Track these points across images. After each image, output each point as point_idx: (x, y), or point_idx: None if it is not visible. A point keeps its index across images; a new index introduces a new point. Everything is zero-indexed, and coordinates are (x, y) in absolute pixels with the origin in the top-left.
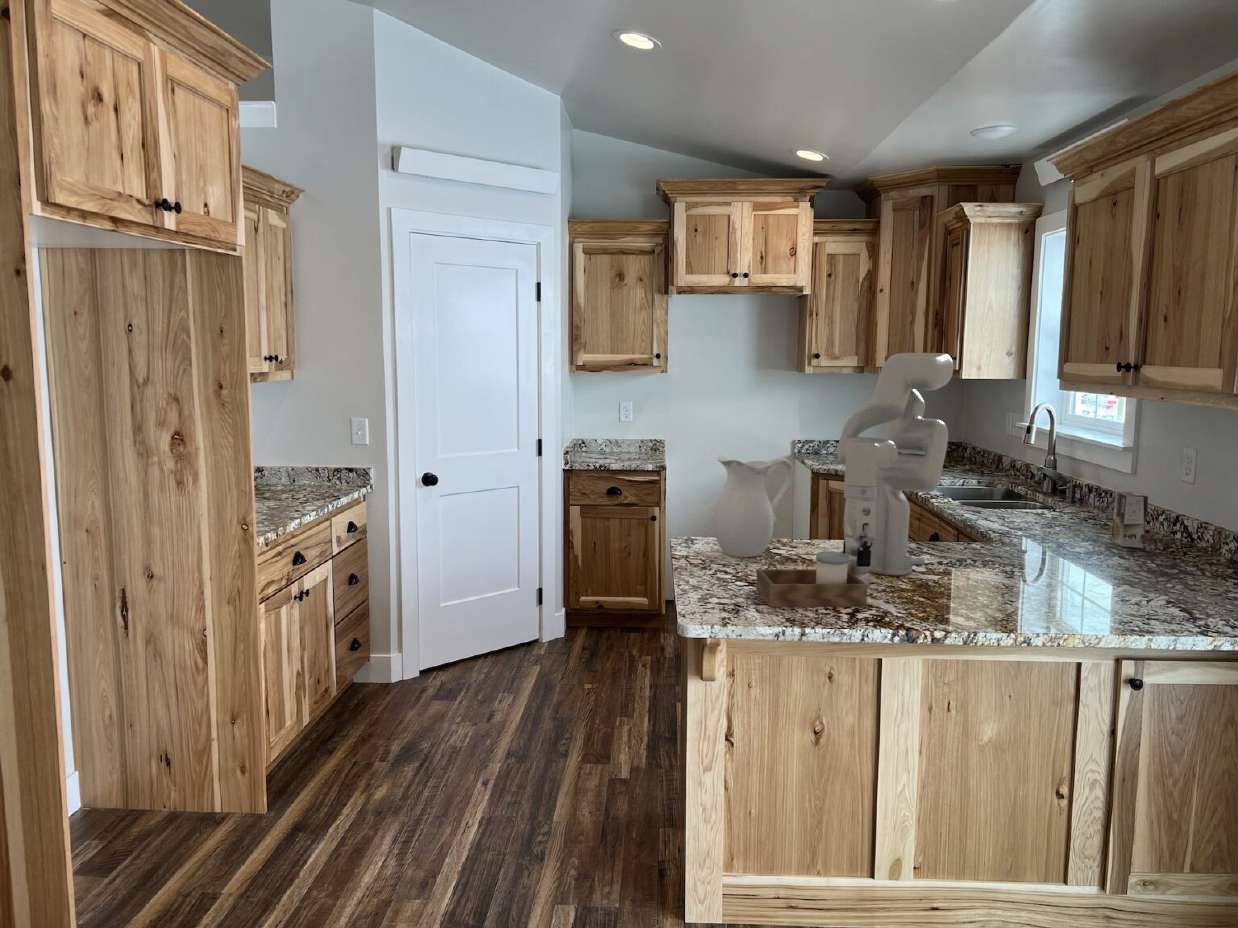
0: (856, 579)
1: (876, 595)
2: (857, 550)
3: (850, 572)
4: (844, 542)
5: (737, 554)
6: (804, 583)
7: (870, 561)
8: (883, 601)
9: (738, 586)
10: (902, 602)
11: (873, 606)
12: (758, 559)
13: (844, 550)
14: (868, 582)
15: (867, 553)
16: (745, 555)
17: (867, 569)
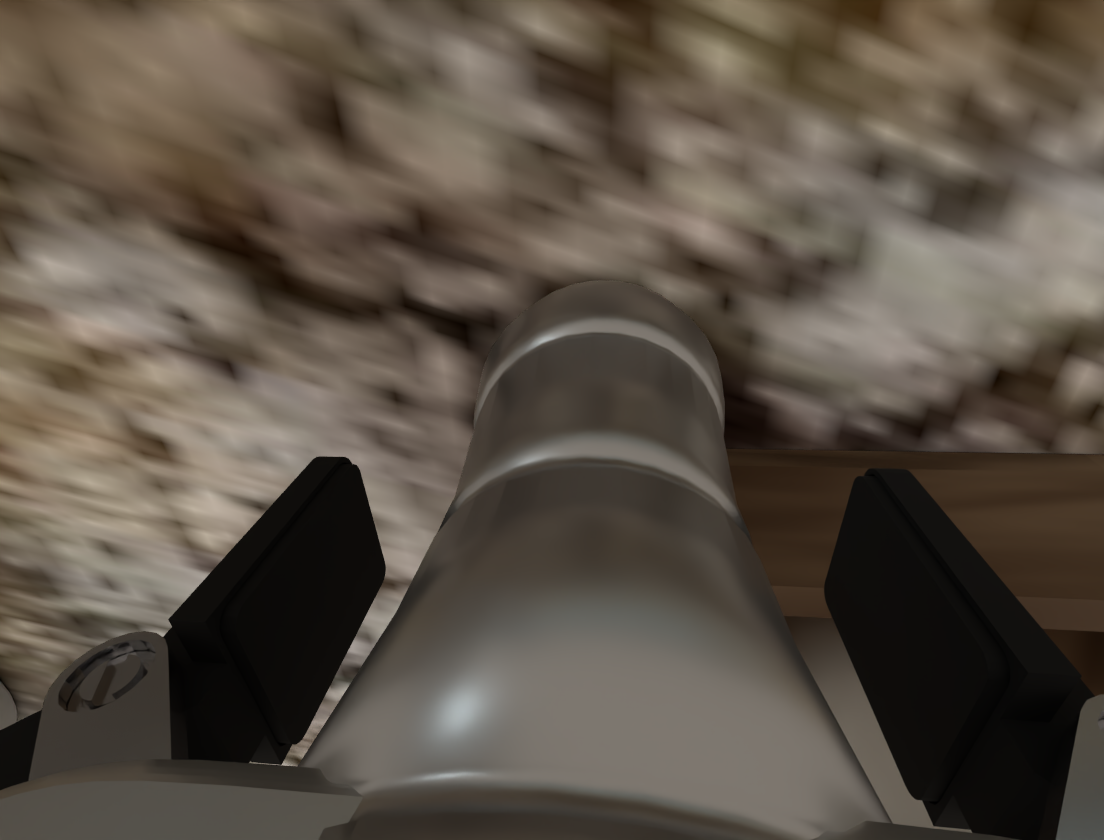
0: (1086, 625)
1: (740, 228)
2: (937, 813)
3: (807, 589)
4: (294, 741)
5: (13, 722)
6: None
7: (938, 507)
8: (933, 229)
9: None
10: (1033, 26)
11: (1036, 364)
12: (9, 649)
13: (352, 631)
14: (687, 317)
15: (1069, 694)
16: (2, 697)
17: (687, 384)
